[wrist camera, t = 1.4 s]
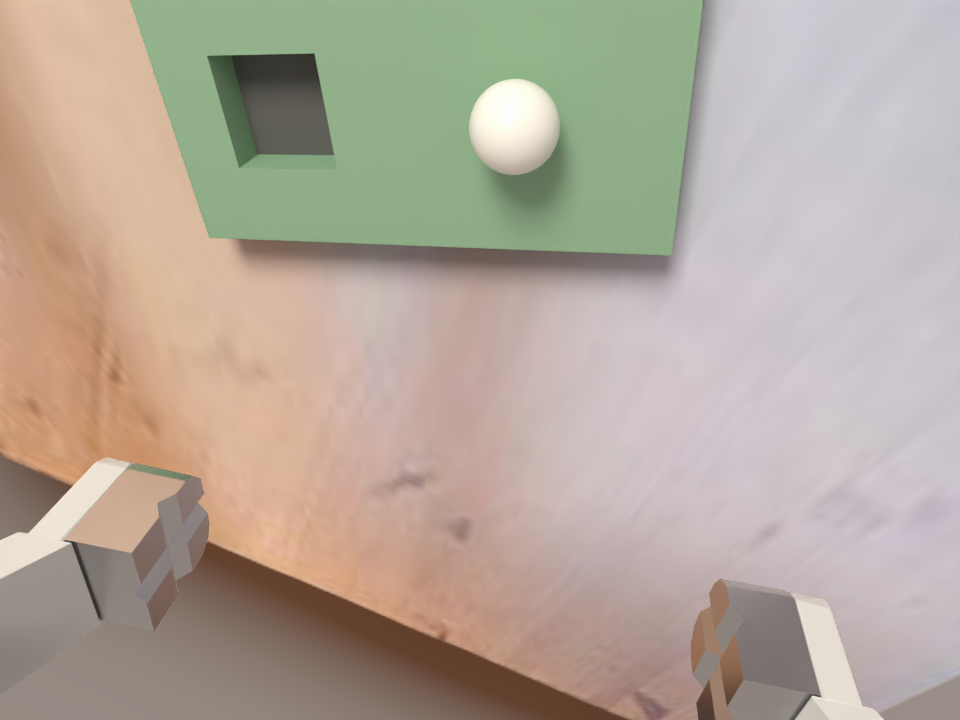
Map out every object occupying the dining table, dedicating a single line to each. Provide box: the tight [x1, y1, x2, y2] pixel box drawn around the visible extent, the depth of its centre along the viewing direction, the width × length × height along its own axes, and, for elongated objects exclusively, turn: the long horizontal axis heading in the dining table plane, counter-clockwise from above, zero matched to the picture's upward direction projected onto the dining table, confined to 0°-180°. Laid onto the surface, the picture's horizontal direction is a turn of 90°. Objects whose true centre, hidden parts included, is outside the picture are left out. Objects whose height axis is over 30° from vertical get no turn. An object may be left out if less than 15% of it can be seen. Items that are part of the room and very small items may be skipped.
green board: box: [130, 0, 703, 256], centre depth 33 cm, size 26×14×2 cm, turn 94°
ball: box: [469, 79, 560, 175], centre depth 29 cm, size 4×4×4 cm
